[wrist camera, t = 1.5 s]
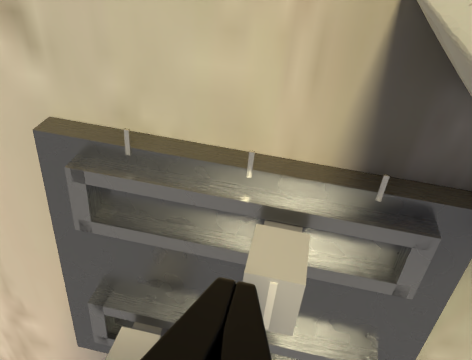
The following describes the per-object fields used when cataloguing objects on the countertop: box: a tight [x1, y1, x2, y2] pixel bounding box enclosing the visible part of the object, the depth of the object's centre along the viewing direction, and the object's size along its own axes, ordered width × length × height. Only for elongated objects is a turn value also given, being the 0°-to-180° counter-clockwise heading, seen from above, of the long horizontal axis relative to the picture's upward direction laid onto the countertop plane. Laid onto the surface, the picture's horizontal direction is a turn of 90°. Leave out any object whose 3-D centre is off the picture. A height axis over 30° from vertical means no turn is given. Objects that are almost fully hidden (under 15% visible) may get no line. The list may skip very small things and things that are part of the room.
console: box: [33, 117, 472, 360], centre depth 25 cm, size 22×19×3 cm
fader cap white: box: [105, 322, 167, 360], centre depth 26 cm, size 2×4×5 cm, turn 175°
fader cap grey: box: [243, 219, 310, 336], centre depth 20 cm, size 2×3×5 cm
